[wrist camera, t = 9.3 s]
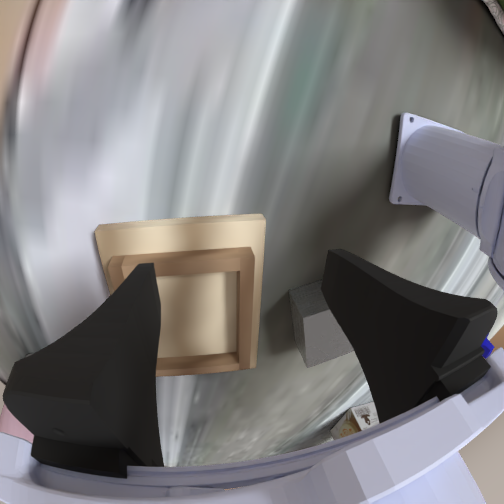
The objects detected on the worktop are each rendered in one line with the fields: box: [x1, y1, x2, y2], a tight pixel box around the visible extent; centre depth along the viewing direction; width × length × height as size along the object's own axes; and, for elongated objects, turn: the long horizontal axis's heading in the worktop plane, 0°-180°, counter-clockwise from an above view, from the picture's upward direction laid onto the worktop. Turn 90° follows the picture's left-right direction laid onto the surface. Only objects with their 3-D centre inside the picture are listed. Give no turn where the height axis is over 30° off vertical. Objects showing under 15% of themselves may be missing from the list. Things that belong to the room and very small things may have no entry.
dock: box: [95, 214, 266, 377], centre depth 22 cm, size 12×16×3 cm
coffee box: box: [330, 402, 379, 440], centre depth 37 cm, size 9×6×16 cm
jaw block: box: [289, 280, 354, 368], centre depth 25 cm, size 5×7×4 cm
